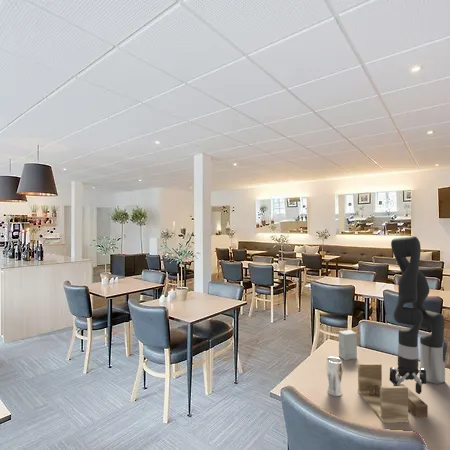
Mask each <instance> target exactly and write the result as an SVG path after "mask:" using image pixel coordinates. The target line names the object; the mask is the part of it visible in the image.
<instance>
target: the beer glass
mask: <svg viewBox="0 0 450 450" xmlns="http://www.w3.org/2000/svg"><path fill="white" fill-rule="evenodd" d="M343 366H344V365H343V360H342V358H341V357H340V358H339V357H337V356H328V357H327V358H326V376H327V381H328V383H327V384H328V387H327V393H328V395H331V396H333V397H340V396H343V395H342V394H343V393H342V380H343V374H344V371H343V370H344V368H343Z"/></svg>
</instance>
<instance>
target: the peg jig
mask: <svg viewBox="0 0 450 450" xmlns="http://www.w3.org/2000/svg"><path fill="white" fill-rule="evenodd" d="M382 374H383V373H382V364H381V363H379V362H377V363H375V362H373V363H372V362H371V363H370V362H369V363H365V362H364V363H359V362H358V363H357V382H358V383H357V384H358V385H357V386H358V387H357V392H358V394H359V395H360V396H361V397H362V399H364V401H365V403H367V405H369V407H370V409H372V411H373V412H374V413H375V415H376V416H377V417H378V418H379V420H380V421H381V422H382V423H384V424H385V423H386V424H390V423H391V424H392V423H393V424H394V423H398V422H401V423H402V422H406V423H410V419H409V409H408V389H409V387H408V386H406V385H405V386H393V385H391V386H390V385H389V386H388V385H386V386H385V385H382V384H383V382H382V381H383V380H382V379H383V378H382V377H383V375H382ZM401 423H400V424H401Z"/></svg>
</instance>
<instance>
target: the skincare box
mask: <svg viewBox="0 0 450 450" xmlns="http://www.w3.org/2000/svg"><path fill="white" fill-rule="evenodd" d="M357 335H358V333H356V332H355V331H353V330H351V329H347V330H340V331H339V330H338V356H339V357H340V359H343V360H344V361H348V360H354V359H358V348H357V347H358V344H357V343H358V340H357V339H358V336H357Z"/></svg>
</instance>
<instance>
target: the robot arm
mask: <svg viewBox="0 0 450 450" xmlns="http://www.w3.org/2000/svg"><path fill="white" fill-rule="evenodd" d="M390 247H391V250H392V251H391V252H392V253H393V257H394V258H395V260H396V263H397V264H398V267H399V270H400V273H401V276H400V278H399V281H398V290H397V291H398V292H397V293H398V296H397V302H396V306H395V308H394V311H393V319H394V320H395V322H397V324H401V325H411V326H410V327H407V328H400V329H399V330H398V338H397V339H398V344H397V368H396V367H395V368H394V367H392V366H391V367H390V368H389V381H390V382H391V383H392V384H394V386H400V384H402V382H404V381H405V380H406V381H409V380H412V381H413V380H414V381H415V392H416V393H417V395H421V393H422V386H423V385H427V383H431V384H437V385H438V384H439V385H440V384H443V383H445V382H446V362H445V361H444V357H443V356H444V355H443V354H444V352H443V351H444V349H443V348H444V347H443V346H444V345H443V343H444V340H445V339H444V338H445V336H444V335H445V318H444V316H443V314H441V313H439V312H435V311H431V310H427V309H426V306H425V301H426V300H427V298H428V296H429V294H430V285H429V283H428V280H427V277H426V275H424V274H423V273H422V272H421V271H420V270H419V269H420V261H421V250H422V249H421V242H420V239H419V238H418V237H417V236H413V235H412V236H405V237H403V236H402V237H395V238H393V239H391V242H390ZM409 257H410V261H409V260H408V259H407V258H409ZM406 304H411V307H410V306H409V307H407V306H405V305H406ZM420 329H424V330H427V331H430V332H431V334H429V335H427V334H424V335H421V336H420V338H419V331H420ZM418 344H420V345H418ZM419 348H420V349H419ZM419 353H420V354H419ZM419 355H420V356H419ZM419 361H420V362H419ZM419 364H420V365H419ZM418 374H419V377H418ZM416 393H415V394H416Z"/></svg>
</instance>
